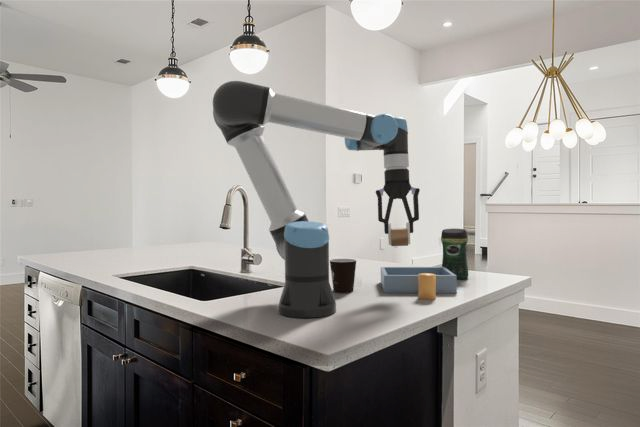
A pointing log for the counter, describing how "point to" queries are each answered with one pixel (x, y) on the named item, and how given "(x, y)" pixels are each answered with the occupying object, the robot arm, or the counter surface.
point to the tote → (416, 279)
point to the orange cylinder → (427, 286)
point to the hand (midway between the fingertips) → (399, 243)
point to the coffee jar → (455, 251)
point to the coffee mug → (343, 275)
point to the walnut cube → (399, 237)
